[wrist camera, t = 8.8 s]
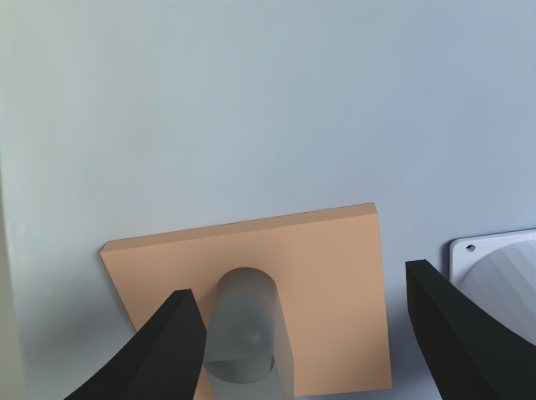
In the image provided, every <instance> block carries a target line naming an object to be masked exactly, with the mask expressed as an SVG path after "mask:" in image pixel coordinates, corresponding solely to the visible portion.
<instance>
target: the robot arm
mask: <svg viewBox="0 0 536 400" xmlns="http://www.w3.org/2000/svg"><path fill="white" fill-rule="evenodd" d="M468 245H472V246H471V247H470V248H466V247H467V246H468ZM405 264H406V283H407V302H408V312H409V316H410V319H411V322H412V326H413V329H414V332H415V336H416V339H417V341H418V344H419V346H420V349H421V351H422V353H423V356H424V358H425V360H426V363H427V365H428V367H429V369H430V372H431V374H432V376H433V379H434V381H435V383H436V386H437V388H438V390H439V393H440V395H441V397H442V399H443V400H536V229H532V230H525V231H517V232H509V233H502V234H494V235H486V236H478V237H471V238H463V239H457V240H455V241H453V242H452V243H451V245H450V282H449V281H448V280H447V279H446V278H445V277H444V276H443V275H442V274H441V273H440V272H439V271H438V270H437V269H435V268H434V267H433V266H432V265H431V264H430V263H429V262H428V261H427V260H425V259H424V260H416V261H408V262H405ZM206 336H207V331H206V328H205V325H204V322H203V320H202V317H201V314H200V311H199V309H198V306H197V303H196V300H195V298H194V295H193V292H192V289H183V290H175V291H174V292H173V293H172V294H171V295H170V296H169V297H168V298H167V299H166V300H165V302H164V303H163V304H162V305H161V306H160V307H159V308H158V310H157V311H156V312H155V313H154V314H153V315H152V316H151V318H150V319H149V320H148V321H147V322H146V323H145V324H144V325H143V327H142V328H141V329H140V330H139V331H138V332H137V333H136V334H135V335H134V336H133V337H132V338H131V340H130V341H129V342H128V343H127V344H126V345H125V346H124V347H123V348H122V349H121V350H120V351H119V352H118V353H117V354H116V355H115V356H114V357H113V358H112V359H111V360H110V361H109V362H108V363H107V364H106V365H105V366H103V367H102V368H101V369H100V370H99V371H98V372H97V373H96V374H95V375H93V376H92V377H91V378H90V379H89V380H88V381H86V382H85V383H84V384H83V385H82V386H80V387H79V388H78V389H77V390H75V391H74V392H73V393H71V394H70V395H69V396H68V397H66V398H65V399H64V400H193V398H194V394H195V391H196V387H197V383H198V379H199V375H200V372H201V368H202V364H203V359H204V352H205V345H206Z"/></svg>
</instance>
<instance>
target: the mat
mask: <svg viewBox="0 0 536 400" xmlns="http://www.w3.org/2000/svg"><path fill="white" fill-rule="evenodd" d="M100 255H101V257H102V259H103V262H104V264H105V266H106V268H107V270H108V272H109V274H110V276H111V279H112V281H113V283H114V285H115V287H116V289H117V291H118V293H119V295H120V298H121V300H122V302H123V304H124V306H125V308H126V310H127V312H128V315H129V317H130V319H131V321H132V323H133V325H134V327H135V329H136V331H137V332H138V331H139V330H140V329H141V328H142V327H143V325H144V324H145V323H146V322H147V321H148V320H149V319H150V318H151V316H152V315H153V314H154V313H155V312H156V311H157V310H158V308H159V307H160V306H161V305H162V304H163V303H164V302H165V300H166V299H167V298H168V297H169V296H170V295H171V294H172V293H173V292H174V291H175V290H183V289H192V292H193V295H194V298H195V300H196V303H197V306H198V309H199V311H200V314H201V317H202V320H203V322H204V325H205V328H206V331H207V328H208V324H209V320H210V316H211V312H212V308H213V304H214V300H215V296H216V292H217V289H218V285H219V282H220V280H221V278H222V277H223V276H224V275H225V274H226V273H227V272H229V271H231V270H233V269H236V268H240V267H251V268H256V269H259V270H261V271H263V272H265V273H267V274H268V275H269V276H270V277H271V278H272V279H273V280H274V282H275V284H276V286H277V290H278V294H279V298H280V303H281V307H282V311H283V315H284V320H285V324H286V328H287V332H288V337H289V341H290V345H291V349H292V354H293V358H294V397H301V396H313V395H325V394H338V393H350V392H362V391H374V390H387V389H393V386H392V375H391V363H390V351H389V339H388V327H387V315H386V304H385V292H384V280H383V268H382V256H381V244H380V233H379V221H378V212H377V210H376V207H375V205H374V203H368V204H361V205H354V206H347V207H341V208H334V209H327V210H320V211H313V212H306V213H300V214H293V215H286V216H279V217H272V218H265V219H259V220H252V221H245V222H238V223H231V224H224V225H218V226H211V227H204V228H197V229H190V230H183V231H177V232H170V233H163V234H156V235H149V236H142V237H136V238H129V239H122V240H115V241H108V242H107V243H106V245H105V246H104V247H103V249H102V250H101V251H100ZM193 400H217V399H216V397H215V394H214V392H213V389H212V387H211V384H210V381H209V379H208V376H207V374H206V371H205V368H204V366H203V364H202V368H201V372H200V375H199V379H198V383H197V387H196V391H195V394H194V398H193Z"/></svg>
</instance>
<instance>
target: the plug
mask: <svg viewBox="0 0 536 400" xmlns="http://www.w3.org/2000/svg"><path fill="white" fill-rule="evenodd" d="M203 366H204V368H205V371H206V374H207V376H208V379H209V381H210V384H211V387H212V389H213V392H214V394H215V397H216V399H217V400H294V358H293V354H292V349H291V345H290V341H289V337H288V332H287V328H286V324H285V320H284V315H283V311H282V307H281V303H280V298H279V294H278V290H277V286H276V284H275V282H274V280H273V279H272V278H271V277H270V276H269V275H268V274H267V273H265V272H263V271H261V270H259V269H256V268H251V267H240V268H236V269H233V270H231V271H229V272H227V273H226V274H225V275H224V276H223V277H222V278H221V280H220V282H219V285H218V289H217V292H216V296H215V300H214V304H213V308H212V312H211V316H210V320H209V324H208V328H207V336H206V345H205V352H204V359H203Z"/></svg>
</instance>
